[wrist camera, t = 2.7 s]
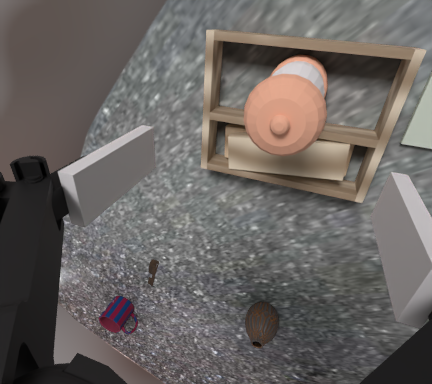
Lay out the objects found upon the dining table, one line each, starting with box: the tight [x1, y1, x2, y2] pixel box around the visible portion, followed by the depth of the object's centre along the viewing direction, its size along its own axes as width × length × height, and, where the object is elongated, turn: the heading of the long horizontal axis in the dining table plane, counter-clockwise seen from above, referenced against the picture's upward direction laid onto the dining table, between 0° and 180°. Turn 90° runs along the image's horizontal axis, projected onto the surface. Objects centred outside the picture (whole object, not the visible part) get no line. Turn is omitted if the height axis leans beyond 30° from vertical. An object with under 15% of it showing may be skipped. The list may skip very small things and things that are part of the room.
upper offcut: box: [228, 132, 350, 181], centre depth 40 cm, size 5×16×2 cm, turn 93°
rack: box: [201, 30, 426, 203], centre depth 38 cm, size 19×24×4 cm
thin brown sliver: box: [148, 259, 159, 286], centre depth 69 cm, size 12×3×1 cm, turn 162°
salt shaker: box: [244, 54, 328, 156], centre depth 30 cm, size 7×7×19 cm
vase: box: [245, 302, 279, 349], centre depth 58 cm, size 7×7×9 cm
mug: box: [99, 296, 138, 334], centre depth 78 cm, size 7×10×7 cm
